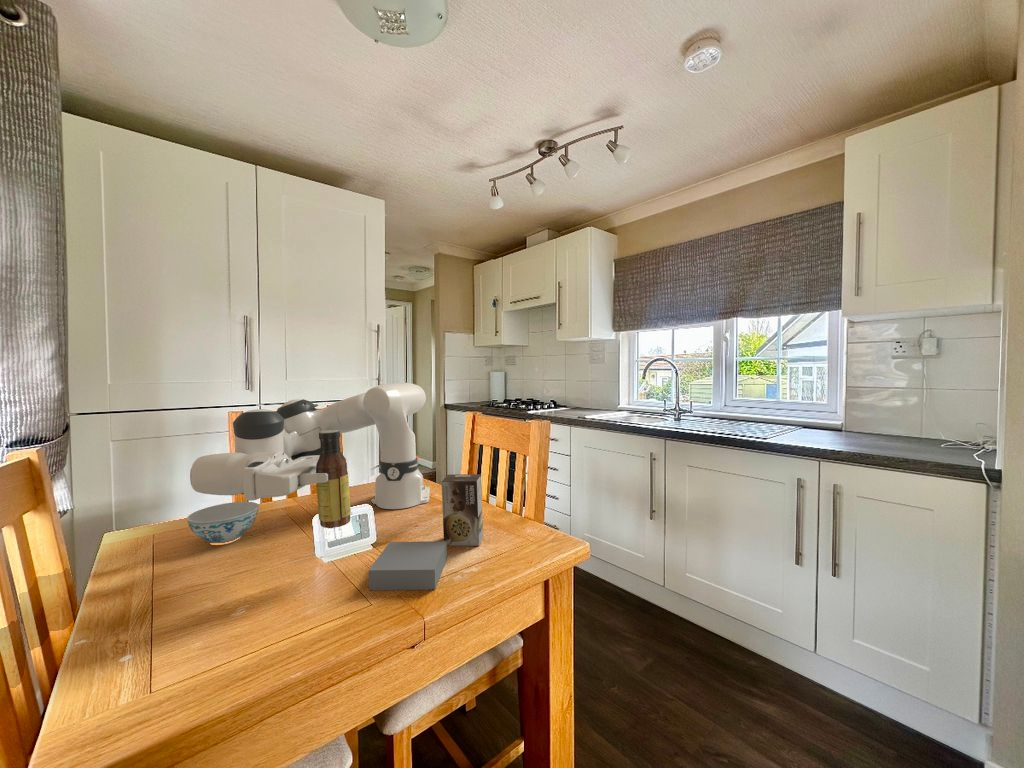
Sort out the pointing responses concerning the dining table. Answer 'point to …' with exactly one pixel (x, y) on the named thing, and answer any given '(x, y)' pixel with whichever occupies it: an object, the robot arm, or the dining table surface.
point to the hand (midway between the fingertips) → (336, 472)
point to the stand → (408, 566)
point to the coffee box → (462, 509)
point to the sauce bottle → (333, 482)
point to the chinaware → (223, 521)
